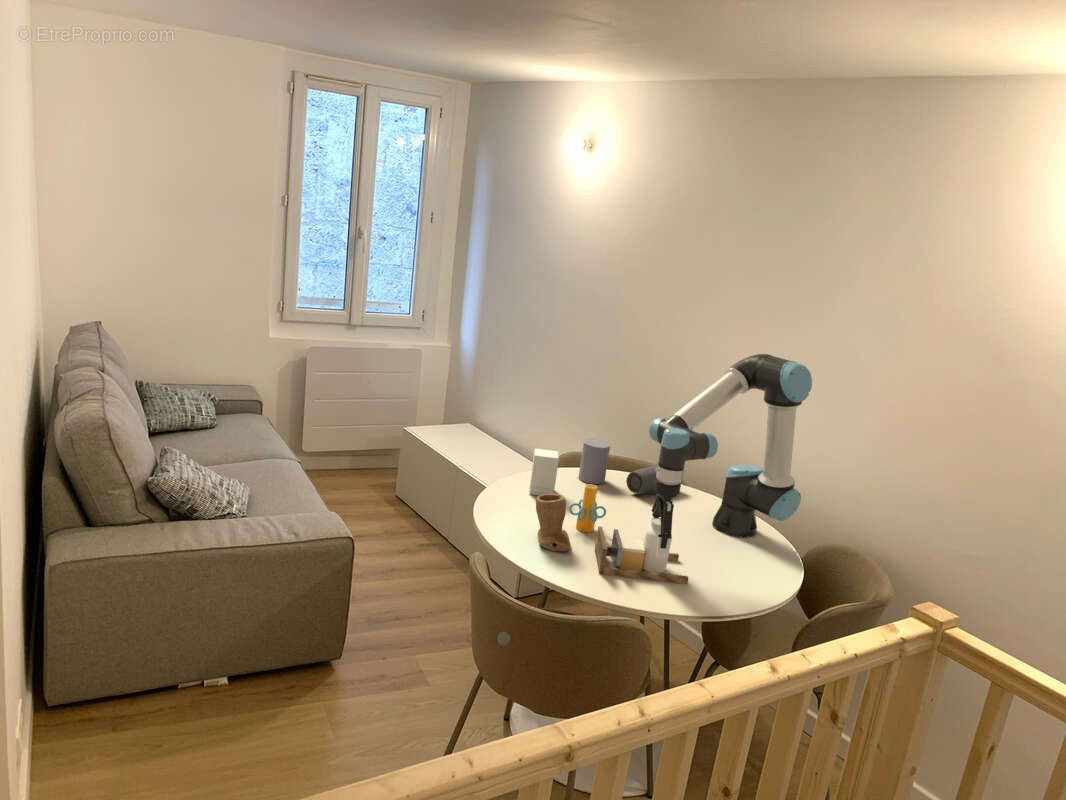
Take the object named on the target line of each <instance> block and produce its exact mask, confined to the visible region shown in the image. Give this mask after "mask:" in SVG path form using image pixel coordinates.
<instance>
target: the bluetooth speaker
mask: <svg viewBox="0 0 1066 800" xmlns="http://www.w3.org/2000/svg"><path fill="white" fill-rule="evenodd" d="M656 468H658V465H653V466H647V467H644V468H640V469H637V470H634V471H633V470H632V471H631V472H630V473H629V474H628V475H627V477H626V480H625V482H626V486H627V489H628V490H629V491H630V492H631V493H633V494H644V495H651V494H656V493H655V491H654V485H655V480H656V479H657V478H656V474H657V472H656V471H655V469H656Z"/></svg>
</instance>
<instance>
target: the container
mask: <svg viewBox="0 0 1066 800" xmlns="http://www.w3.org/2000/svg"><path fill="white" fill-rule="evenodd" d="M610 449H611V444H610V443H609V442H607V441H604V440H601V439H595V438H594V439H593V438H589V439H588V438H587V439H584V441H583V445H582V453H581V458H580V464H579V473H578V479H579V480H580V481H581V482H584V483H587V484H592V485H600V484H604V483H605V482H606V481H605V480H606V474H607V469H608V463H609V456H610Z"/></svg>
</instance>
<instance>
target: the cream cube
mask: <svg viewBox="0 0 1066 800" xmlns="http://www.w3.org/2000/svg"><path fill="white" fill-rule="evenodd" d="M620 539H621V543H622V547H623V550H622V556H621V562H620V568H622V569H631V570H639V571H642V570H643V569H642V563H643V558H644V553H645V548H644V545H643V544H644V541H643V540H641V539H635V538H625V537H620Z"/></svg>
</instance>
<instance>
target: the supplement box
mask: <svg viewBox="0 0 1066 800" xmlns="http://www.w3.org/2000/svg"><path fill="white" fill-rule="evenodd" d="M532 459H533V460H532V466H531V467H532V468H531V474H530V475H531V476H530V482H529V492H528V493H529V495H532V496H540V495H543V494H555V488H556V487H555V486H556V481H557V476H558V475H557V474H558V469H559V468H558V466H559V459H560V457H559V451H557V450H552V449H551V450H549V449H543V448H534V451H533V458H532Z"/></svg>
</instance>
